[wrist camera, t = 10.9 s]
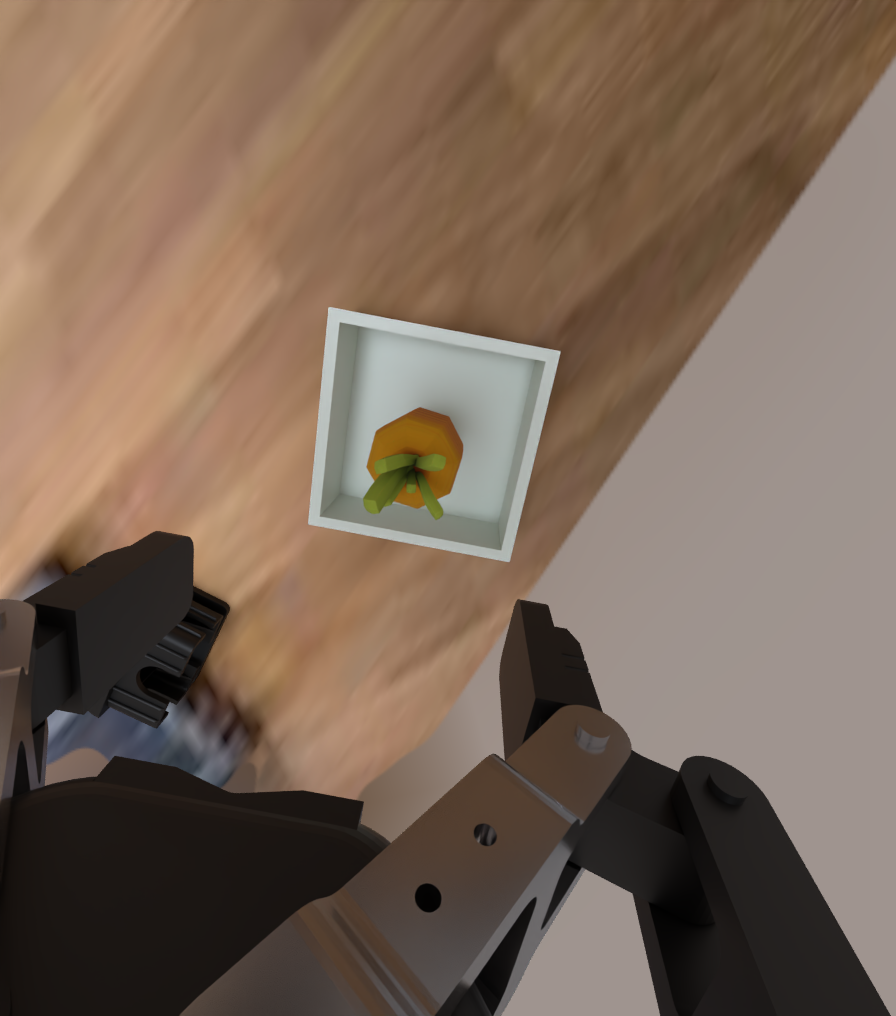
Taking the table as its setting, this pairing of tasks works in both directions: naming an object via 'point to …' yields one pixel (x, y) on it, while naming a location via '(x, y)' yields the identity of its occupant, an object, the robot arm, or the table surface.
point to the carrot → (413, 462)
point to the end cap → (168, 664)
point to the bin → (440, 388)
